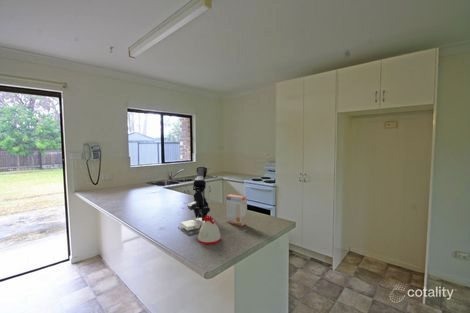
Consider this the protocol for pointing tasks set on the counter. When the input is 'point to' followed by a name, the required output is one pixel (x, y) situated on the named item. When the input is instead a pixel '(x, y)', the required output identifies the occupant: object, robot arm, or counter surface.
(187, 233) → the switch base
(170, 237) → the counter surface
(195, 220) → the block
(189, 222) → the rocker
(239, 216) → the translucent upright frame
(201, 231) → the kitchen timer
